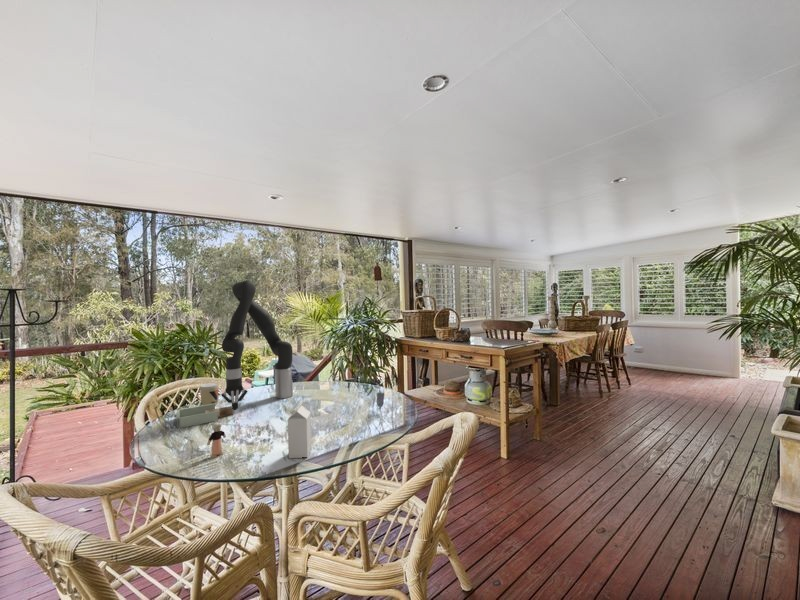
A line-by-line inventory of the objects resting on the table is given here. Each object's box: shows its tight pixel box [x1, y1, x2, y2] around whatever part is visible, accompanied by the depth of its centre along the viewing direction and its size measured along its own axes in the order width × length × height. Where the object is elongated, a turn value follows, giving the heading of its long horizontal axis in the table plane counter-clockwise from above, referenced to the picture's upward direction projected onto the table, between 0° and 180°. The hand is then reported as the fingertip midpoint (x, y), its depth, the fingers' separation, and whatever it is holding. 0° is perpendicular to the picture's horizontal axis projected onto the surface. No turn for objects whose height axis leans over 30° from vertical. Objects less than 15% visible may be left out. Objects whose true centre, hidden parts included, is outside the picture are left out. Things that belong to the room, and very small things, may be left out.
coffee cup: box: [199, 382, 220, 407], centre depth 197 cm, size 9×9×12 cm
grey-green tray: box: [176, 403, 219, 429], centre depth 176 cm, size 17×15×4 cm
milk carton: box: [287, 402, 312, 459], centre depth 136 cm, size 7×7×19 cm
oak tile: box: [205, 407, 220, 418], centre depth 180 cm, size 6×6×3 cm
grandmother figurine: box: [206, 421, 227, 459], centre depth 137 cm, size 8×4×13 cm, turn 164°
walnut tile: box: [218, 405, 234, 418], centre depth 184 cm, size 6×6×3 cm
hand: (235, 409), depth 185 cm, fingers closed
